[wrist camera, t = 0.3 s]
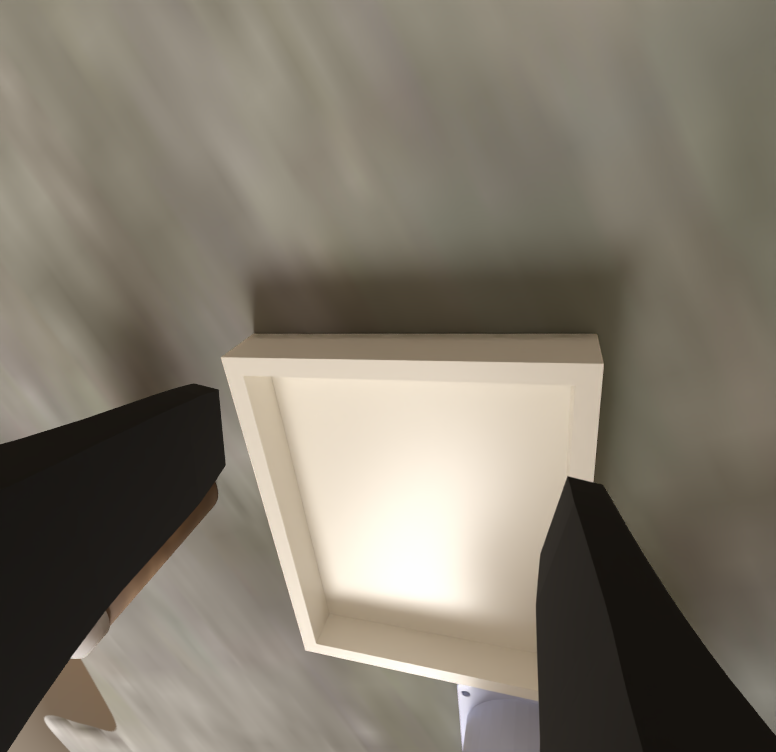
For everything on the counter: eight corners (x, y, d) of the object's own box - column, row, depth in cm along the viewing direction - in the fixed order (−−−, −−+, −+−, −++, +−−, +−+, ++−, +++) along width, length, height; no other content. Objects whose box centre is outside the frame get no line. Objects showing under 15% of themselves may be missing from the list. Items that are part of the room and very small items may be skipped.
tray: (571, 658, 25) (573, 709, 23) (323, 611, 29) (305, 650, 27) (597, 333, 17) (603, 363, 15) (253, 333, 21) (220, 357, 19)
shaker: (228, 517, 28) (107, 668, 20) (163, 508, 29) (26, 646, 22) (206, 451, 26) (62, 590, 18) (137, 445, 27) (-24, 572, 20)
